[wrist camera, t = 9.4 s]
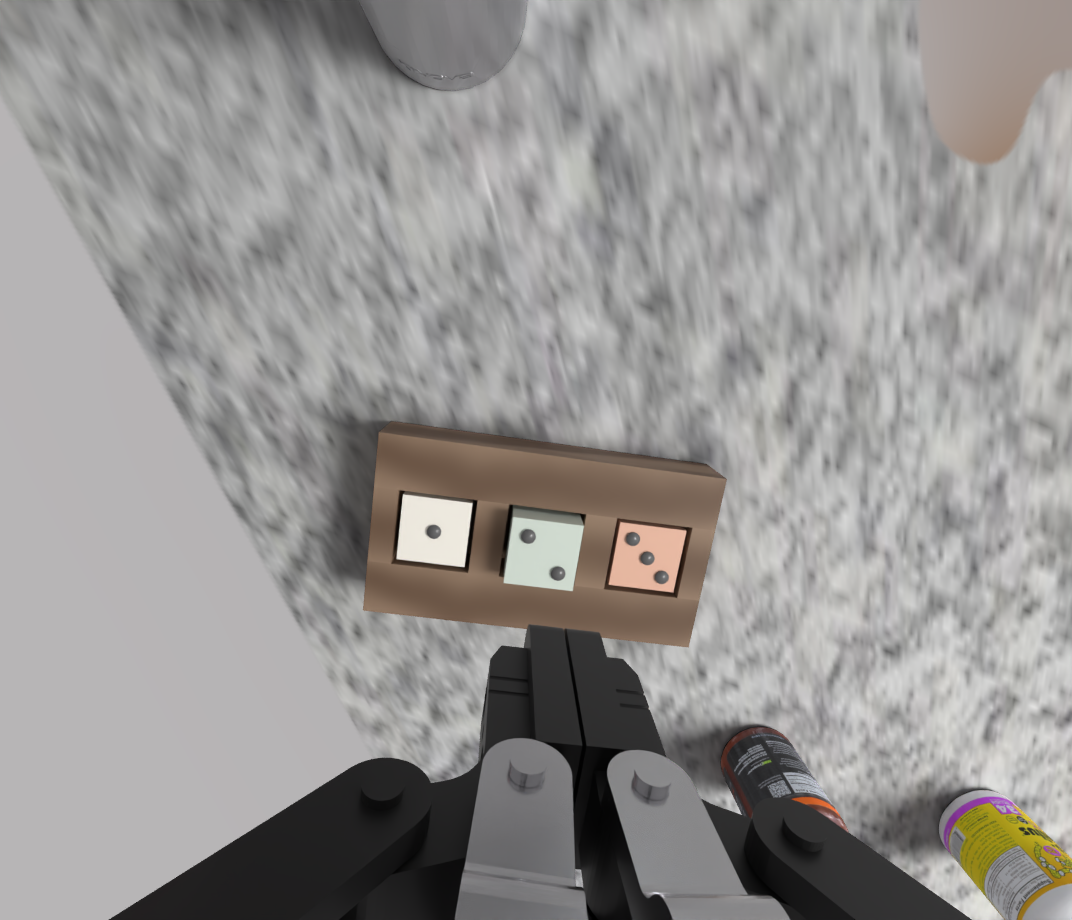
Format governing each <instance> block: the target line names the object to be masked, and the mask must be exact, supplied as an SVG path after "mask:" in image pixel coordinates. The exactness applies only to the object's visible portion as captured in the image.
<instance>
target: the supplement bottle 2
mask: <svg viewBox="0 0 1072 920" xmlns="http://www.w3.org/2000/svg"><path fill="white" fill-rule="evenodd" d="M939 834H940V838H941V840H942V843H943V844H944V846H945V847H946V849H947V850H948V851H949V852H950V854H951V855H952V856H953V857H954V859H955V860H956V861H957V862H958V863H959V865H960V866H961V867H962V868H963V870H964V871H965V872H966V873H967V874H968V876H969V877H970V878H971V879H972V881H973V882H974V883H975V884H976V885H977V887H978V888H979V889H980V890H981V892H982V893H983V894H984V895H985V896H986V898H987V899H988V900H989V901H990V902H991V904H992V905H993V906H994V907H995V909H996V910H997V911H998V912H999V913H1000V915H1001V916H1002V917H1003V918H1004V919H1005V920H1072V859H1071V858H1070V857H1069V856H1068V855H1067V854H1066V853H1065V852H1064V851H1063V850H1062V849H1061V848H1060V847H1059V846H1058V845H1057V844H1056V843H1055V842H1054V841H1053V840H1052V839H1051V838H1050V837H1049V836H1048V835H1047V834H1046V833H1044V832H1043V831H1042V830H1041V829H1040V828H1039V827H1038V826H1037V825H1036V824H1035V823H1034V822H1033V821H1032V820H1031V819H1030V818H1029V817H1028V816H1027V815H1026V814H1025V813H1024V812H1023V811H1022V810H1021V809H1020V808H1019V807H1017V806H1016V805H1015V804H1014V803H1013V802H1012V801H1011V800H1010V799H1009V798H1007V797H1006V796H1004V795H1002V794H1000V793H997V792H994V791H989V790H978V791H972V792H969V793H966V794H964V795H961V796H960V797H958V798H956V799H955V800H954V801H953V802H952V803H951V804H950V805H949V806H948V807H947V808H946V809H945V811H944V812H943V814H942V816H941V819H940V823H939Z"/></svg>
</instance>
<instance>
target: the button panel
mask: <svg viewBox="0 0 1072 920" xmlns="http://www.w3.org/2000/svg"><path fill="white" fill-rule="evenodd" d="M726 480H727V479H726V478H724V477H723V476H722V475H720V474H719V473H718V472H716V471H715V470H714V469H712V468H711V467H710V466H708V465H707V464H702V463H694V462H687V461H680V460H672V459H665V458H658V457H650V456H643V455H636V454H629V453H621V452H614V451H607V450H599V449H592V448H585V447H577V446H570V445H563V444H555V443H548V442H541V441H533V440H526V439H519V438H511V437H504V436H497V435H489V434H482V433H475V432H467V431H460V430H453V429H445V428H438V427H431V426H424V425H416V424H409V423H402V422H394V421H391V422H390V423H389V424H388V425H387V426H386V427H384V428H383V429H382V430H381V431H380V432H379V436H378V447H377V458H376V470H375V481H374V492H373V504H372V515H371V526H370V538H369V549H368V560H367V572H366V583H365V594H364V606H363V610H364V611H373V612H382V613H391V614H399V615H408V616H417V617H426V618H435V619H443V620H452V621H461V622H470V623H479V624H487V625H496V626H505V627H514V628H523V629H527V627H528V625H529V624H532V625H541V626H549V627H558V628H563V630H564V629H565V628H568V629H576V630H585V631H594V632H599V633H600V635H601V637H602V638H611V639H619V640H628V641H637V642H646V643H655V644H663V645H672V646H681V647H689V643H690V638H691V634H692V630H693V625H694V621H695V616H696V612H697V608H698V603H699V599H700V594H701V590H702V586H703V581H704V577H705V573H706V568H707V564H708V559H709V555H710V551H711V546H712V542H713V537H714V533H715V529H716V524H717V520H718V515H719V511H720V507H721V502H722V498H723V493H724V489H725V485H726ZM405 491H410V492H418V493H426V494H434V495H441V496H449V497H457V498H465V499H472V500H474V505H473V513H472V521H471V528H470V536H469V544H468V551H467V556H466V561H465V567H458V566H450V565H442V564H433V563H425V562H417V561H408V560H400V559H397V549H398V539H399V529H400V519H401V509H402V499H403V494H404V492H405ZM513 505H519V506H527V507H535V508H542V509H550V510H558V511H566V512H574V513H580V516H581V519H582V522H583V525H584V529H583V534H582V540H581V546H580V552H579V557H578V563H577V569H576V575H575V580H574V586H573V591H567V590H558V589H550V588H541V587H533V586H525V585H516V584H508V583H504V562H505V555H506V548H507V541H508V534H509V527H510V520H511V513H512V507H513ZM617 518H620V519H628V520H636V521H644V522H651V523H659V524H667V525H675V526H683V527H684V528H685V529H686V536H685V540H684V545H683V550H682V554H681V559H680V564H679V568H678V573H677V577H676V582H675V587H674V591H673V592H665V591H657V590H649V589H640V588H632V587H624V586H615V585H609V584H608V581H607V579H606V575H607V570H608V564H609V559H610V554H611V548H612V543H613V538H614V532H615V527H616V522H617Z"/></svg>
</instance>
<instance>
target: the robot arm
mask: <svg viewBox="0 0 1072 920" xmlns="http://www.w3.org/2000/svg"><path fill="white" fill-rule="evenodd" d="M359 2H360V4H361V7H362V9H363V11H364V13H365V15H366V17H367V19H368V21H369V23H370V25H371V27H372V29H373V31H374V33H375V35H376V37H377V39H378V41H379V43H380V45H381V47H382V49H383V51H384V52H385V53H386V54H387V56H388V57H389V58H390V60H391V61H392V62H393V63H394V65H395V66H396V67H398V68H399V69H400V70H401V71H402V72H403V73H404V74H406V75H407V76H408V77H410V78H411V79H413V80H415V81H417V82H419V83H420V84H422V85H425V86H428V87H432V88H435V89H438V90H453V91H456V90H462V89H467V88H472V87H474V86H477V85H479V84H481V83H483V82H486V81H487V80H489V79H490V78H491V77H493V76H494V75H495V74H497V73H498V72H499V71H500V70H501V69H502V68H503V67H504V66H505V64H506V63H507V62H508V61H509V60H510V59H511V57H512V55H513V53H514V51H515V50H516V48H517V46H518V44H519V42H520V39H521V36H522V33H523V29H524V26H525V19H526V11H527V0H359ZM643 693H644V692H643V689H642V686H641V683H640V680H639V677H638V675H637V674H636V673H635V672H634V671H633V669H632V668H631V667H630V666H629V665H628V664H627V663H626V662H625V661H624V660H623V659H618V658H609V657H607V656H606V653H605V649H604V645H603V642H602V638H601V635H600V633H599V632H594V631H585V630H576V629H568V628H565V629H564V630H563V628H558V627H549V626H541V625H532V624H529V625H528V627H527V632H526V637H525V644H524V648H519V647H510V646H501V647H500V648H499V649H498V651H497V652H496V653H495V654H494V655H493V657H492V658H491V660H490V666H489V673H488V680H487V687H486V694H485V701H484V707H483V714H482V721H481V732H480V746H479V760H478V764H477V765H476V766H475V767H474V768H473V769H471V770H470V771H469V772H467V773H465V774H463V775H462V776H459V777H457V778H454V779H451V780H446V781H441V782H436V783H430V781H429V778H428V777H427V776H426V774H425V773H424V772H423V771H422V770H421V769H420V768H418V767H417V766H415V765H414V764H411V763H409V762H407V761H404V760H400V759H394V758H377V759H371V760H367V761H364V762H361V763H359V764H357V765H355V766H353V767H351V768H349V769H348V770H346V771H345V772H343V773H341V774H340V775H338V776H337V777H335V778H334V779H332V780H330V781H329V782H327V783H325V784H324V785H322V786H321V787H319V788H318V789H316V790H314V791H313V792H311V793H310V794H308V795H306V796H305V797H303V798H302V799H300V800H298V801H297V802H295V803H294V804H292V805H290V806H289V807H287V808H286V809H284V810H283V811H281V812H280V813H278V814H276V815H275V816H273V817H271V818H270V819H269V820H267V821H265V822H263V823H262V824H260V825H259V826H257V827H256V828H254V829H253V830H251V831H249V832H248V833H246V834H244V835H243V836H241V837H240V838H238V839H236V840H235V841H233V842H232V843H230V844H229V845H227V846H225V847H224V848H222V849H221V850H219V851H217V852H216V853H214V854H213V855H211V856H209V857H208V858H207V859H205V860H203V861H201V862H200V863H198V864H197V865H195V866H194V867H192V868H190V869H189V870H187V871H186V872H184V873H182V874H181V875H179V876H178V877H176V878H175V879H173V880H171V881H170V882H168V883H166V884H165V885H163V886H162V887H160V888H159V889H157V890H156V891H154V892H152V893H151V894H149V895H147V896H146V897H144V898H143V899H141V900H139V901H138V902H136V903H135V904H133V905H132V906H130V907H128V908H127V909H125V910H124V911H122V912H120V913H119V914H117V915H116V916H114V917H112V918H111V919H109V920H971V919H970V918H969V917H967V916H966V915H964V914H963V913H961V912H960V911H959V910H957V909H956V908H954V907H953V906H952V905H950V904H949V903H947V902H946V901H945V900H943V899H942V898H940V897H939V896H937V895H936V894H935V893H933V892H932V891H930V890H929V889H928V888H926V887H925V886H923V885H922V884H921V883H919V882H918V881H916V880H915V879H913V878H912V877H911V876H909V875H908V874H906V873H905V872H904V871H902V870H901V869H899V868H898V867H896V866H895V865H894V864H892V863H891V862H889V861H888V860H887V859H885V858H884V857H882V856H881V855H880V854H878V853H877V852H875V851H874V850H872V849H871V848H870V847H868V846H867V845H865V844H864V843H863V842H861V841H860V840H858V839H857V838H856V837H854V836H853V835H851V834H850V833H848V832H847V831H846V830H844V829H843V828H841V827H840V826H839V825H837V824H836V823H834V822H833V821H831V820H830V819H829V818H827V817H826V816H824V815H823V814H821V813H820V812H818V811H817V810H815V809H813V808H811V807H810V806H808V805H806V804H803V803H801V802H798V801H795V800H792V799H787V798H781V797H773V798H767V799H764V800H762V801H760V802H759V803H758V804H757V805H756V806H755V808H754V810H753V813H752V817H751V818H749V817H746V816H743V815H740V814H737V813H735V812H732V811H729V810H726V809H723V808H720V807H718V806H715V805H713V804H710V803H708V802H706V801H705V800H703V799H701V798H700V796H699V794H698V792H697V789H696V787H695V785H694V783H693V782H692V780H691V778H690V777H689V776H688V774H687V773H686V772H685V771H684V770H683V769H682V768H681V767H680V766H679V765H677V764H676V763H675V762H673V761H671V760H670V759H668V758H666V755H665V752H664V749H663V746H662V743H661V740H660V737H659V735H658V732H657V729H656V726H655V723H654V720H653V717H652V715H651V712H650V710H649V709H648V707H649V706H648V703H647V700H646V697H645V695H643ZM575 869H580V870H581V871H582V879H583V888H582V887H576V880H575Z"/></svg>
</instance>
